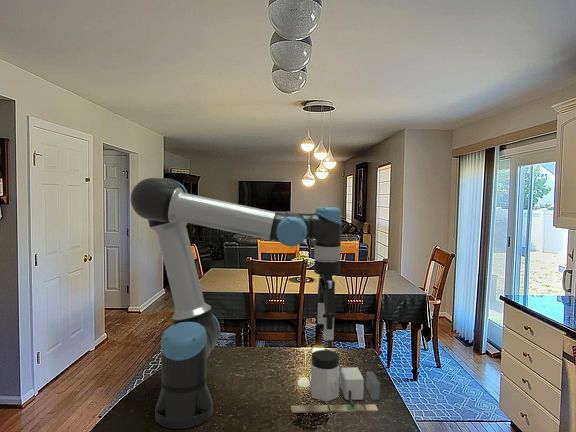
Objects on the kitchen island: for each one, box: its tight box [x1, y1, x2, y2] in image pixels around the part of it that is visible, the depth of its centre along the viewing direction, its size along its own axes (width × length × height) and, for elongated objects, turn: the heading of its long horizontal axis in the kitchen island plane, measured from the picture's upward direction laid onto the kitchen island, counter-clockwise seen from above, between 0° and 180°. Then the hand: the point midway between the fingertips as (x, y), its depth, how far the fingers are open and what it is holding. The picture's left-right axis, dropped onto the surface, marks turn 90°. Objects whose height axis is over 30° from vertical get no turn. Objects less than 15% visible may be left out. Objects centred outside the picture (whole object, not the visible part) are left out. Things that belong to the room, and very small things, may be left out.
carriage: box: [339, 367, 365, 407], centre depth 123 cm, size 5×13×6 cm, turn 3°
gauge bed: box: [290, 403, 379, 414], centre depth 116 cm, size 24×3×1 cm, turn 93°
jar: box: [310, 349, 340, 402], centre depth 124 cm, size 9×8×12 cm
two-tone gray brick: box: [365, 371, 381, 401], centre depth 125 cm, size 2×8×5 cm, turn 3°
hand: (324, 331), depth 124 cm, fingers open, 13 cm apart
